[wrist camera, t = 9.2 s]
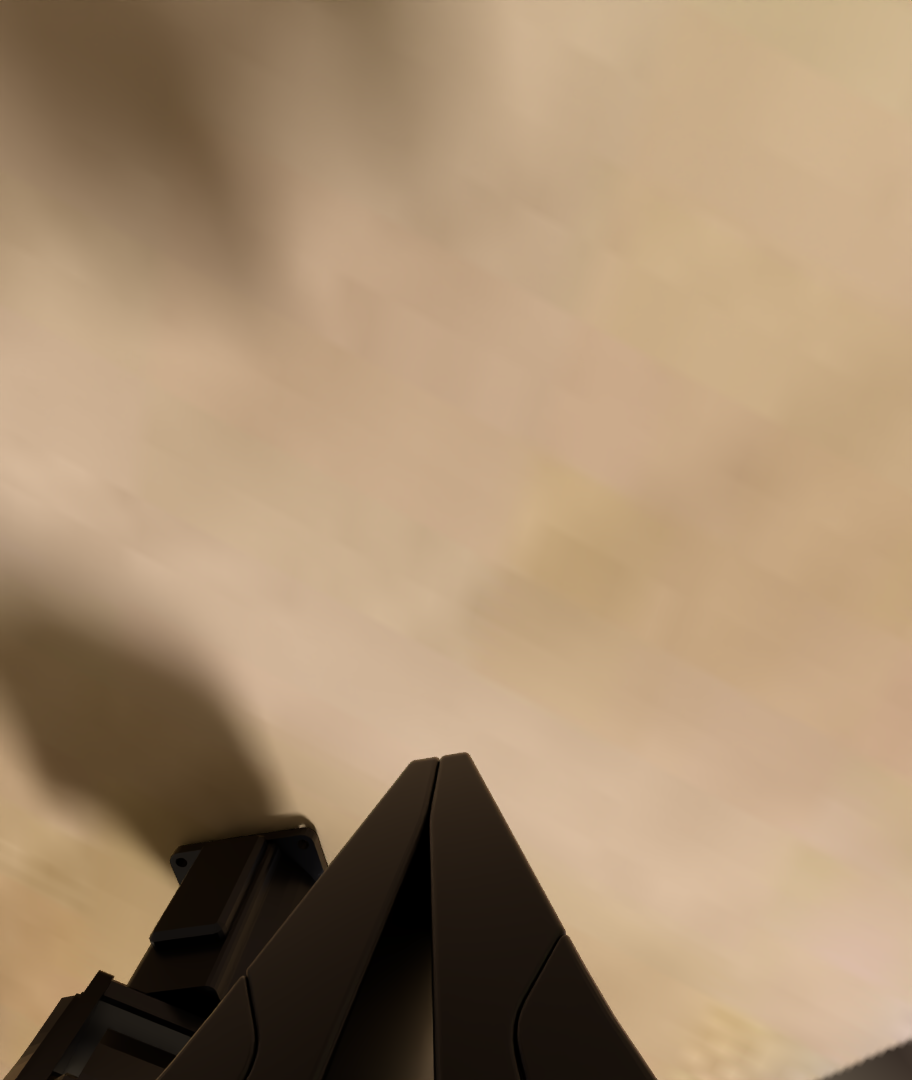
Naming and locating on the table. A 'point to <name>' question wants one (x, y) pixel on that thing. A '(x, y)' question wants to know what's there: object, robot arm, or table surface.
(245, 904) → the robot arm
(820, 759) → the table surface
